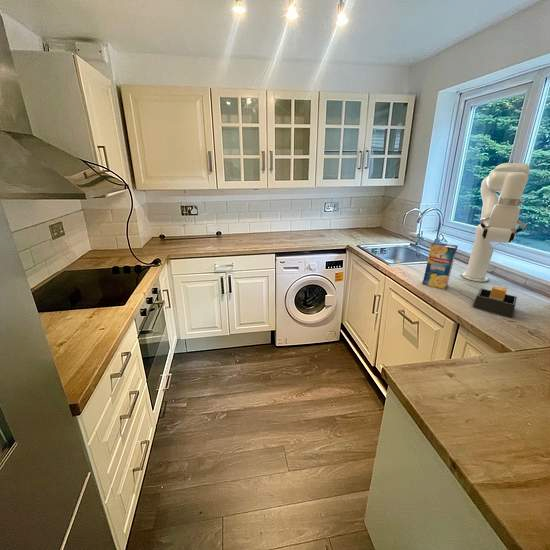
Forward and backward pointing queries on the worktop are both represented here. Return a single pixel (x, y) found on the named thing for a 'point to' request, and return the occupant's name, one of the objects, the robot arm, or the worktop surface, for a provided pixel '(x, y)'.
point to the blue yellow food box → (439, 264)
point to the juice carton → (498, 293)
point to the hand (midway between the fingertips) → (496, 240)
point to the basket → (495, 303)
